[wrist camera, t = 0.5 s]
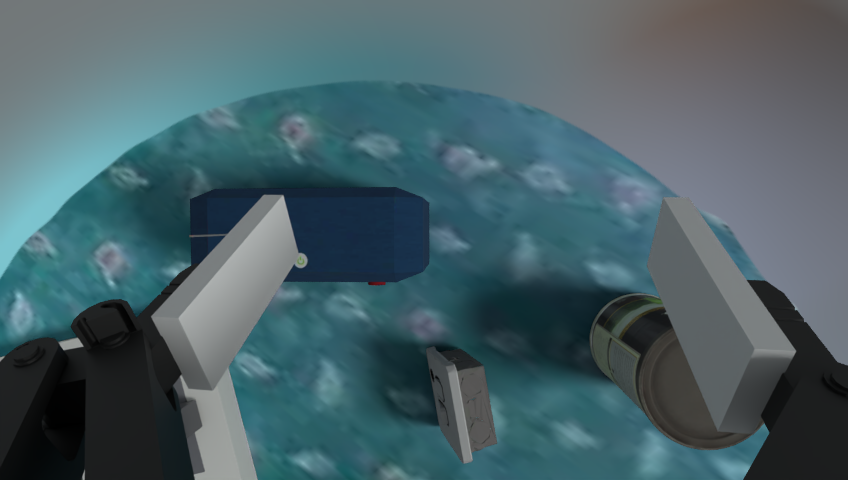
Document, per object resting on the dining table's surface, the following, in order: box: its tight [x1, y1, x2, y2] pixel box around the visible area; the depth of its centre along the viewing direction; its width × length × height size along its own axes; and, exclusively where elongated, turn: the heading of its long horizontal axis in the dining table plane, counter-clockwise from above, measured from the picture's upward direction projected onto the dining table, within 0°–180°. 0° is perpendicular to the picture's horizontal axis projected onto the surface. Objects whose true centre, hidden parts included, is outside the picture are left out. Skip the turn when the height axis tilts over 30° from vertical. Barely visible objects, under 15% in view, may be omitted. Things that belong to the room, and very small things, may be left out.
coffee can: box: [590, 293, 764, 450], centre depth 43 cm, size 10×10×14 cm
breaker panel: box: [0, 337, 258, 480], centre depth 52 cm, size 22×24×3 cm
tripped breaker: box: [179, 399, 202, 438], centre depth 48 cm, size 3×5×4 cm, turn 105°
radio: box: [189, 187, 429, 285], centre depth 42 cm, size 21×9×20 cm, turn 90°
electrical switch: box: [426, 346, 497, 463], centre depth 47 cm, size 9×5×9 cm, turn 10°
